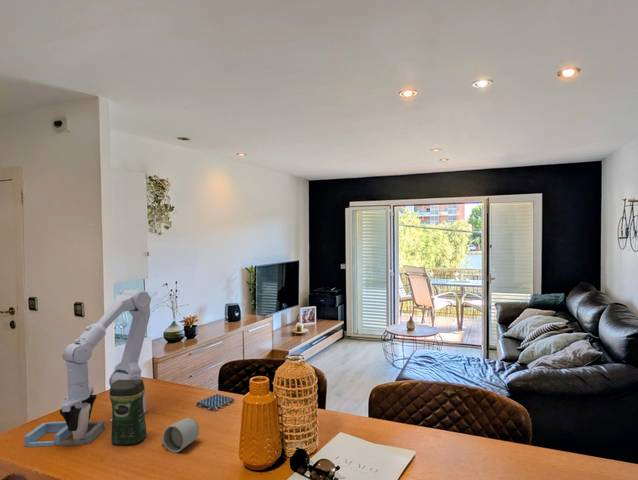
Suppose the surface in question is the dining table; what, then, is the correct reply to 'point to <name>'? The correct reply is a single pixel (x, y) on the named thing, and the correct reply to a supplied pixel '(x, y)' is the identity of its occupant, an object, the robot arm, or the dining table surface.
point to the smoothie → (82, 421)
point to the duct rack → (61, 434)
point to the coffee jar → (127, 412)
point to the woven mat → (215, 402)
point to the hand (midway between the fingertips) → (79, 424)
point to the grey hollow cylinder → (180, 434)
